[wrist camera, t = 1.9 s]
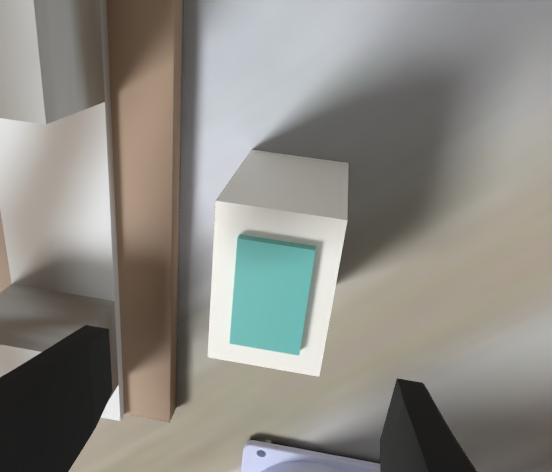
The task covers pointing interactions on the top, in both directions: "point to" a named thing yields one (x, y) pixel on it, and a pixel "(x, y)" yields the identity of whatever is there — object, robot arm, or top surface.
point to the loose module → (277, 261)
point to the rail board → (92, 187)
